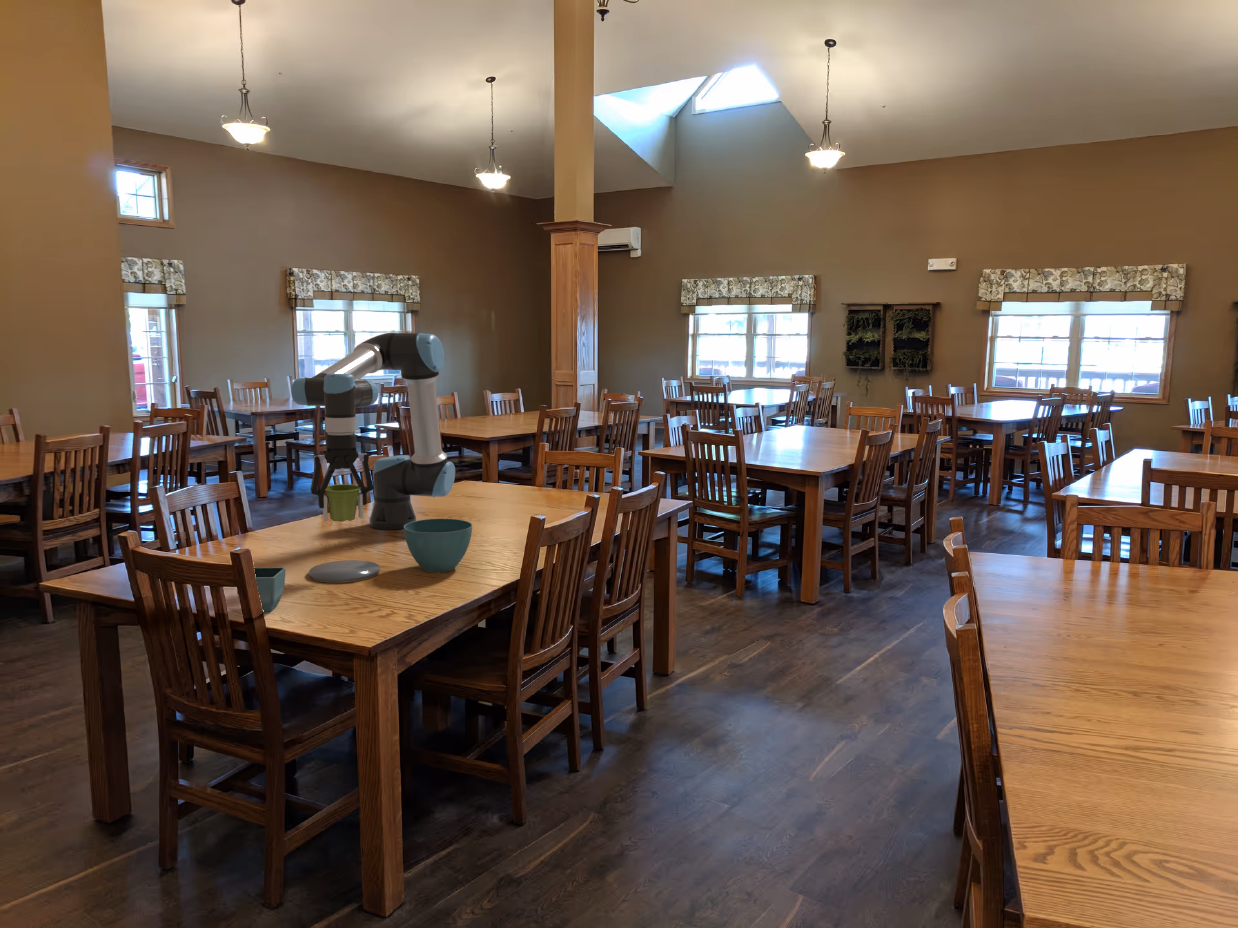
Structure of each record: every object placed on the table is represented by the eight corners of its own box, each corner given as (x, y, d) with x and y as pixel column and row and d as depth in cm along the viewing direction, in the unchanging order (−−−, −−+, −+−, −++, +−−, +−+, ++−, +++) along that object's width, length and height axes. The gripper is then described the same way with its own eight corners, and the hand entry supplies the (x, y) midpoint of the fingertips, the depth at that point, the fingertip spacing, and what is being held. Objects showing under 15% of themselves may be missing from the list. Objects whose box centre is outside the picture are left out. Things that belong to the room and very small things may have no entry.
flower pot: (249, 603, 196) (247, 566, 195) (287, 603, 197) (286, 566, 195) (235, 616, 187) (233, 577, 186) (276, 615, 188) (274, 577, 187)
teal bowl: (394, 566, 230) (393, 522, 229) (454, 556, 241) (453, 515, 239) (421, 582, 216) (421, 535, 214) (484, 571, 227) (484, 527, 225)
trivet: (372, 561, 234) (372, 557, 234) (386, 578, 218) (386, 574, 218) (305, 568, 226) (304, 564, 226) (313, 586, 210) (313, 581, 210)
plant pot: (367, 516, 224) (366, 484, 223) (352, 524, 215) (352, 491, 214) (333, 515, 225) (333, 483, 224) (317, 522, 216) (316, 489, 215)
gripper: (379, 430, 225) (381, 512, 228) (295, 432, 215) (299, 518, 219) (384, 433, 218) (386, 518, 221) (299, 436, 209) (302, 524, 212)
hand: (343, 518), depth 220 cm, fingers closed on plant pot, 8 cm apart
